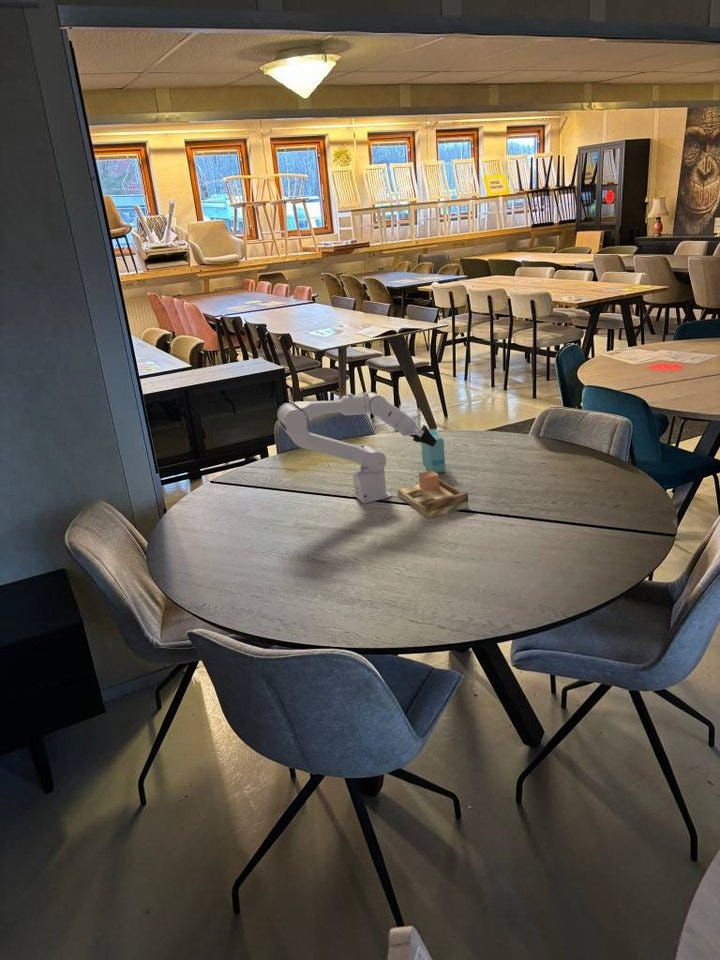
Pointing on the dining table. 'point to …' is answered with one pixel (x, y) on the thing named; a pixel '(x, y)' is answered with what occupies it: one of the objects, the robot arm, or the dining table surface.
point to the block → (429, 481)
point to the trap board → (435, 499)
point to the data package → (434, 454)
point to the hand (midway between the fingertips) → (428, 440)
